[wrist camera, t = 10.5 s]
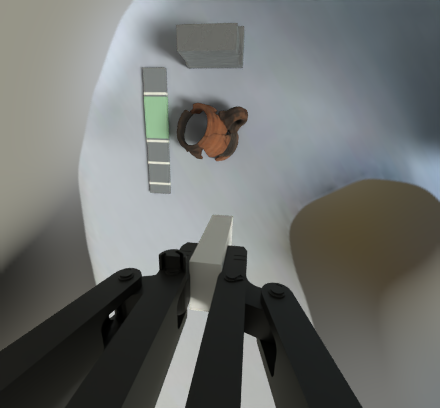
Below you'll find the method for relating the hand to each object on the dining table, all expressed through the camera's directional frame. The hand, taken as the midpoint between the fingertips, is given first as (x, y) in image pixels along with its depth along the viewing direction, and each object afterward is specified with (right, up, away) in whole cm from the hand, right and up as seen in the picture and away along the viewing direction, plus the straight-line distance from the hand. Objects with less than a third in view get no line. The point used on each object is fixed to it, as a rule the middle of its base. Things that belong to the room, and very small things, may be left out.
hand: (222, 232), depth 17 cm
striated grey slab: (-1, +26, +20) cm, 33 cm away
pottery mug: (-1, +15, +24) cm, 28 cm away
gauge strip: (-12, +15, +25) cm, 31 cm away
